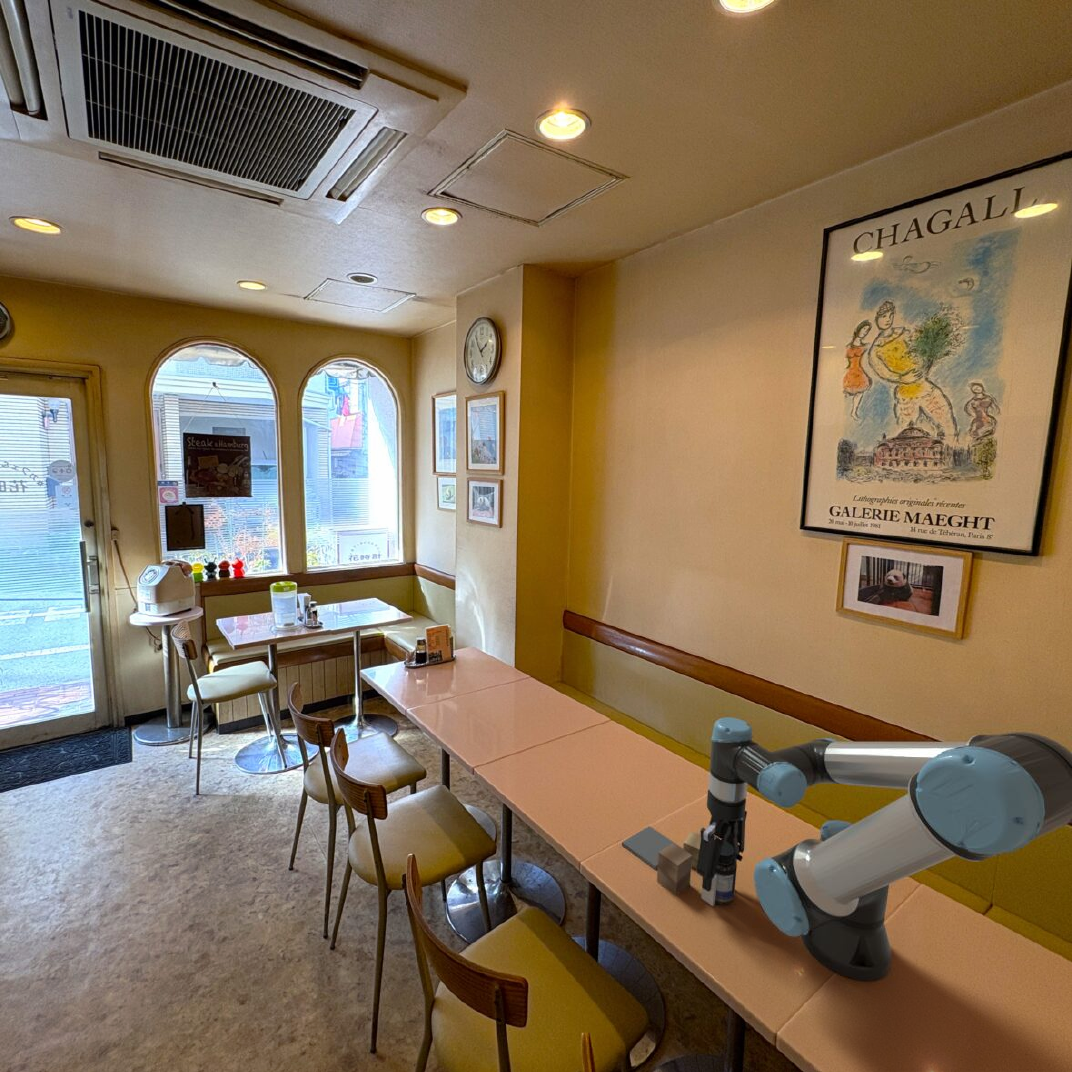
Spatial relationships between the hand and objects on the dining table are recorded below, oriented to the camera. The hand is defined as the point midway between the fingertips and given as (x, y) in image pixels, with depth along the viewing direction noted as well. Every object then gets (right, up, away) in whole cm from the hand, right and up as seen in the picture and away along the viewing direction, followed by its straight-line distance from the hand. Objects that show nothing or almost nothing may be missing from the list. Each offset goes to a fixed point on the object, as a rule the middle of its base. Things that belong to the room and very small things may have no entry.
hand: (718, 893), depth 120 cm
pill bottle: (0, 0, 0) cm, 1 cm away
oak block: (-2, +1, +10) cm, 10 cm away
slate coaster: (-11, +2, +14) cm, 18 cm away
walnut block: (-9, 0, +3) cm, 9 cm away
